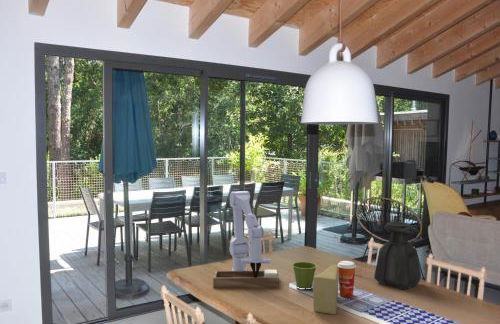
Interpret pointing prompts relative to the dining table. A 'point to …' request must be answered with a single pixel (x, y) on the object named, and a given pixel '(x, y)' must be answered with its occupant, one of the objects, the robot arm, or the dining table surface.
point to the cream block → (270, 274)
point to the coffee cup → (346, 278)
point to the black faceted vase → (398, 259)
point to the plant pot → (304, 274)
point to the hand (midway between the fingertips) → (255, 277)
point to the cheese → (326, 290)
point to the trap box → (243, 279)
